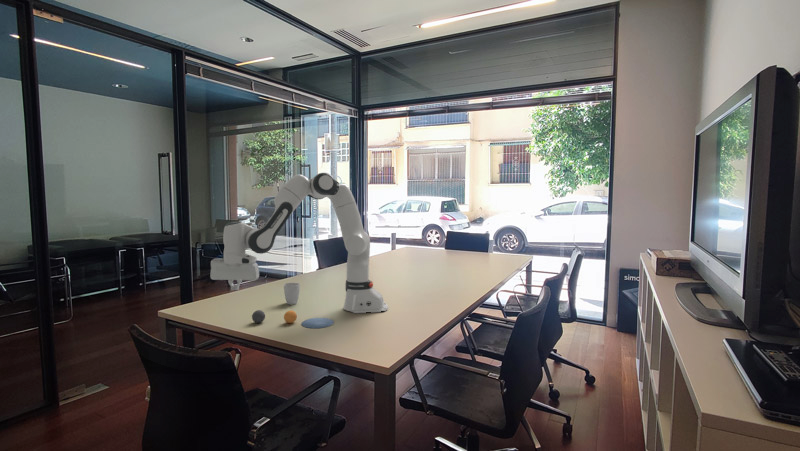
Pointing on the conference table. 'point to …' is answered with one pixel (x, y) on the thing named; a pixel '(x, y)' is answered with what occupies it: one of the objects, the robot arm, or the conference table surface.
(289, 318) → the orange ball
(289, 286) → the cup
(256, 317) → the dark gray ball
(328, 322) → the blue mark
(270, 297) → the conference table surface
